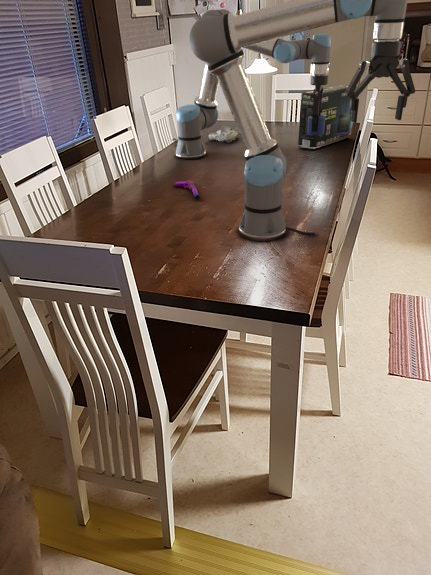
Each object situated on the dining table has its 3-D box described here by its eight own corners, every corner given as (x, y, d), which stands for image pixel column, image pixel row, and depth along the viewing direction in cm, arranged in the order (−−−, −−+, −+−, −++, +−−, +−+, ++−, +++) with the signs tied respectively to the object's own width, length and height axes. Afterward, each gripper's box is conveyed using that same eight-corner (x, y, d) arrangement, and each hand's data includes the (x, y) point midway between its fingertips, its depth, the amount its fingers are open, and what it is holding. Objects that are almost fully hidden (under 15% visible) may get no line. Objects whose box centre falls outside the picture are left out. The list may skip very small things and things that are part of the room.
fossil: (231, 137, 247) (212, 119, 250) (221, 153, 253) (203, 136, 256) (247, 135, 260) (230, 119, 264) (237, 151, 267) (220, 135, 270)
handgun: (174, 185, 194) (174, 180, 193) (192, 183, 195) (192, 178, 194) (181, 201, 176) (180, 197, 175) (200, 199, 177) (200, 194, 176)
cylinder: (322, 131, 213) (323, 115, 210) (325, 135, 207) (326, 118, 203) (306, 131, 214) (307, 115, 210) (308, 135, 207) (309, 118, 203)
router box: (314, 151, 231) (318, 94, 217) (296, 148, 237) (299, 92, 224) (352, 138, 251) (358, 85, 238) (335, 135, 258) (340, 83, 245)
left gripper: (326, 77, 188) (321, 134, 200) (330, 71, 205) (326, 124, 217) (307, 77, 190) (304, 134, 202) (313, 72, 207) (310, 124, 219)
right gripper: (424, 37, 131) (410, 115, 142) (338, 41, 129) (331, 120, 140) (437, 39, 124) (422, 120, 135) (347, 43, 123) (339, 125, 134)
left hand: (315, 129), depth 209 cm, fingers closed on cylinder, 8 cm apart
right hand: (375, 120), depth 138 cm, fingers open, 13 cm apart
